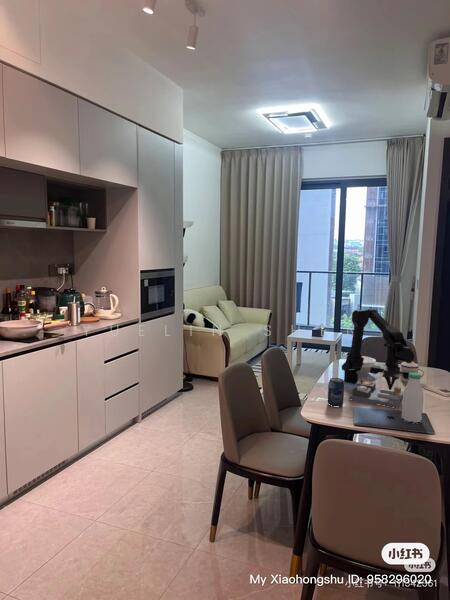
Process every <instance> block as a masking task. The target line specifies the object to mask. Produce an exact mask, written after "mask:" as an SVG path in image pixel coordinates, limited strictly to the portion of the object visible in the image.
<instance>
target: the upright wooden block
mask: <svg viewBox="0 0 450 600" xmlns="http://www.w3.org/2000/svg"><path fill="white" fill-rule="evenodd" d="M393 390H394V395H396V396H398V398H399V397H400V395H401V392H402V386H401V385H395V386H394V388H393Z"/></svg>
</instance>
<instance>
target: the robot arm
mask: <svg viewBox="0 0 450 600" xmlns="http://www.w3.org/2000/svg"><path fill="white" fill-rule="evenodd" d="M351 313H352V314H351V323H352V324H353V332H352V337H351V338H352V339H351V347H350V351H349V353H348V355H346V359H345V361H344V363H343V364H342V365H341V371H344V373H343V374H344V375H343V376H344V378H343V382H344V383H347V384H354V385H355V384H356V383H358V382H359V374H358V371H360V370H361V367H362V365H363V361H364V358H363V357H362V356H363V355H361V351H362V345H363V336H364V330H365V327H366V326H367V325H368V323H369V320H371V322H372V323H373V324H374V325H375V326H376V328H377V329H379V331H380V332H381V334H382V337H383V340H384V341H385V342H386V343H384V344H383V347H386V351H385V352H386V353H385V354H386V355H385V364H384V366H383V368H381V365H375V364H374V365H373V366H372V367H371V368H370V372H369V374H373V375H374V374H375V375H377V374H379V373H382V378H385V380H386V381H385V382H386V383H387V387H388V389H389V390H393V386H394V385H395V382H396V381H397V380H400V375H401V376H403V377H404V379H409V373H414V372H413V371H409V370H404V372H401V366H399V363H400V361H401V362H402V363H403V362H406V363H411V362H414V359H415V353H414V351H412V348H411V347H408V345H407V342H406V339H405V337H404V335H403V333H402V331H401V330H399V329H398V328H396V327H393V326H392V325H391V324H389V322H387V320H385V318H384V317H383V316H382V315H381V314H380V313H379V311H378V309H376V308H375V309H373V308H370V309H369V308H367V309H355V310H353V311H352V312H351Z"/></svg>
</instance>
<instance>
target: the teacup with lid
mask: <svg viewBox="0 0 450 600" xmlns="http://www.w3.org/2000/svg"><path fill="white" fill-rule="evenodd" d="M419 367H420V366H419V364H418V363H415V362H414V361H412V362H411V363H406V362H403V361H402V362H401V363H400V371H401V372H404V370H409V371H413V372H414V373H418V374H419V371H421V372H422V374H421V378H423V377H424V376H425V371H424V370H423V369H422V368H419ZM399 380H400V381H401V382H405V383H408V381H409V379H404V377H403V376H401V375H400V378H399Z"/></svg>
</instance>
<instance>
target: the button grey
mask: <svg viewBox="0 0 450 600" xmlns="http://www.w3.org/2000/svg"><path fill="white" fill-rule="evenodd" d="M356 386H357V390H359V391H365V392H366V391H367V387H365V386H358V385H356Z"/></svg>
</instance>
